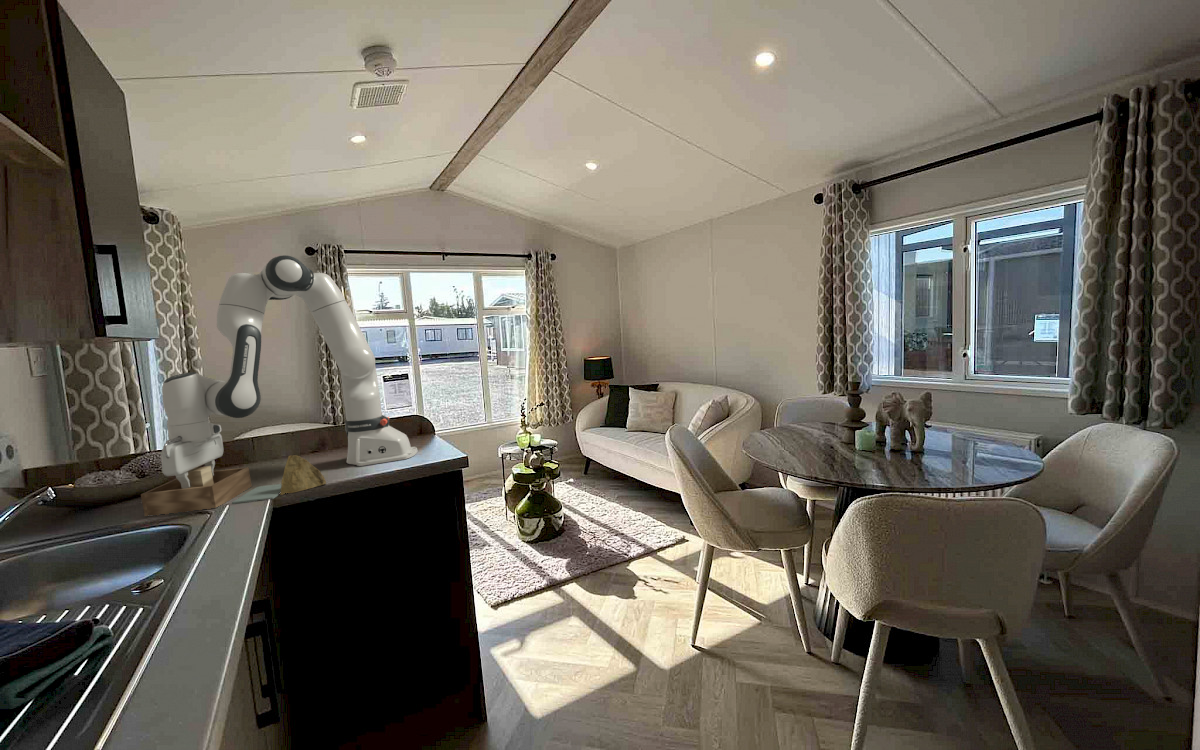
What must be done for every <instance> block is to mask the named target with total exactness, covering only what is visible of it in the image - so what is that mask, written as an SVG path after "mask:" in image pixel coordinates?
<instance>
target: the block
mask: <svg viewBox="0 0 1200 750" xmlns="http://www.w3.org/2000/svg"><path fill="white" fill-rule="evenodd" d="M187 477H188V479H189V480H192V486H191V487H189V488H194V487H203V486H211V485H213V484H214V482H213V476H212V470H211V466H206V467H205V466H198V467H196V468H194V469H192V470H189V471H188V475H187Z"/></svg>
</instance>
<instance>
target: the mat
mask: <svg viewBox="0 0 1200 750" xmlns="http://www.w3.org/2000/svg"><path fill="white" fill-rule="evenodd" d="M280 492H281V483H278V484H268V485H260V486H259V485H258V486H256V487H254V488H253V489H251V490H249V491H248V492H246V493H244V494H243V495H241V496H240V497H238V498H237V499H235V500H233V501H231V505H236V504H243V503H244V502H245V503H251V502H252V501H253V502H258V501H257V500H262V501H265V500H264V499H270V500H274V499H275V498H277V497H278V496H279V495H280V494H279V493H280ZM278 494H279V495H278Z"/></svg>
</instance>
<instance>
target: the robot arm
mask: <svg viewBox="0 0 1200 750" xmlns="http://www.w3.org/2000/svg"><path fill="white" fill-rule="evenodd" d="M294 295H295V296H298V297H299V298H300V299H301V300H303V301H304V303H305V304H306V305H307V308H308V310H309V312H310V314H311V315H312V317H313V320H314V322H315V323H316V325H317V327H318V329H319V331H320V333H321V335H322V337H323V339H324V342H325V343H326V345H327V347H328V349H329V352H330V354H331V355H332V357H333V359H334V362H335V363H336V365H337V367H338V370H340V371H339V372H340V380H341V388H342V389H341V390H342V398H343V405H344V413H345V421H344V424H345V425H344V427H345V433H346V437H347V455H346V457H347V458H346V463H347V464H349V465H356V466H357V467H363V466H368V465H369V466H370V465H375V464H376V465H377V464H382V463H387V462H388V463H389V462H394V461H396V462H397V461H402V460H406V459H410V458H412V457H414V456H415V455H416V454H417V453H418V451H419V450H418V448H417V446H411V443H410V439H409V437H408V435H407V434H405V433H404V432H402V431H400V430H399V429H396V428H394V427H393V426H392V425H390V416H385V415H383V411H382V405H381V397H380V396H381V395H380V389H379V383H378V375H377V368H376V357H375V354H374V353H373V351H372V349H371V347H370V345H369V343H368V341H367V340H366V338H365V335H364V333H363V331H362V329H361V328H360V325H359V324H358V321H357V319H356V317H355V316H354V313H353V311H352V309H351V308H350V306H349V304H348V302H347V300H346V298H345V296H344V294H343V292H342V291H341V290H340V288H339V286H338V285H337V284H336V282H335V281H334V280H333V278H332V277H331V276H330V275H329V274H327V273H324V272H313V270H312V269H310V267H308V266H307V265H305V264H304V263H303V262H302V261H300V260H299V259H298V258H296V257H295V256H292V255H285V254H284V255H278V256H275V257H272V259H270V260H269V261H268V262H267V263H266V264H265V265H264V267H263V268H262V269H261V271H260V272H259V273H257V274H253V273H248V272H238V273H234V274H232V275H231V276H230V277H229V278H228V280H227V282H226V284H225V286H224V288H223V291H222V293H221V296H220V299H219V305H218V308H217V312H216V328H217V330H218V331H219V332H220V333H221V335H223V336H224V337H225V338H226V339H227V340H228V341H229V342H230V344H231V347H232V357H231V363H230V372H229V377H228V378H227V380H220V379H215V378H211V377H207V376H204V375H201V374H199V373H198V372H193V371H192V372H191V371H190V372H185V373H179V374H175V375H172V376H169V377H167V378H166V379H165V380H164V381H163V382H162V391H161V392H162V393H161V395H162V403H163V404H162V405H163V410H164V411H165V413H166V416H167V422H166V426H167V433H168V438H169V439H168V440H167V441H165V443H164V445H163V446H162V450H161V453H160V454H161V455H160V458H161V472H162V474H163V475H164V476H165V477H174V476H175V479H176V478H177V479H178V480H179V482H180V483H181V488H182V489H185V488H189V487H191V486H192V480H189V479H188V477H187V475H188V471H189V470H192V469H194V468H196V467H202V466H203V465H204V467H206V466H211V470H212V476H214V472H213V471H214V468H215V465H216V461H215V460H216V459H218V458H221V457H223V454H224V443H223V436H222V434H221V432H222V426H221V424H216V423H213V422H210V418H209V417H210V416H211V415H219V416H226V417H230V418H234V419H242V418H243V419H244V418H246V417H249V416H250V415H252V414H253V413H254V412H256V411H257V409H258V408H259V406H260V404H261V399H262V398H261V390H260V387H259V383H258V381H259V380H258V377H259V369H260V368H259V367H260V361H261V352H262V327H263V322H264V319H265V318H264V317H265V312H266V307H267V304H268V301H270V300H271V301H273V300H274V301H281V300H287V299H290V298H292V297H293V296H294Z"/></svg>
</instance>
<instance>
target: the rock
mask: <svg viewBox="0 0 1200 750" xmlns="http://www.w3.org/2000/svg"><path fill="white" fill-rule="evenodd" d="M285 462H286V463H285V466H284V470H283V475H282V479H281V481H280V482H281V483H280V484H281V493H280V494H279V495H280V496H283V495H287V493H288V494H293V493H294V494H295V493H298V492H302V491H305V490H309V489H313V488H316V487H321V486H324V485H326V484H327V480H326V479H325V476H324V475H323V474H322V472H321V470H319V469H318V468H317V467H315V466H314V465H313V464H312V463H311V462H309V461H308V460H307V459H305V458H303V457H301V456H300V455H296V454H295V455H294V454H292V455H288V456H287V461H285ZM285 493H286V494H285Z"/></svg>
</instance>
